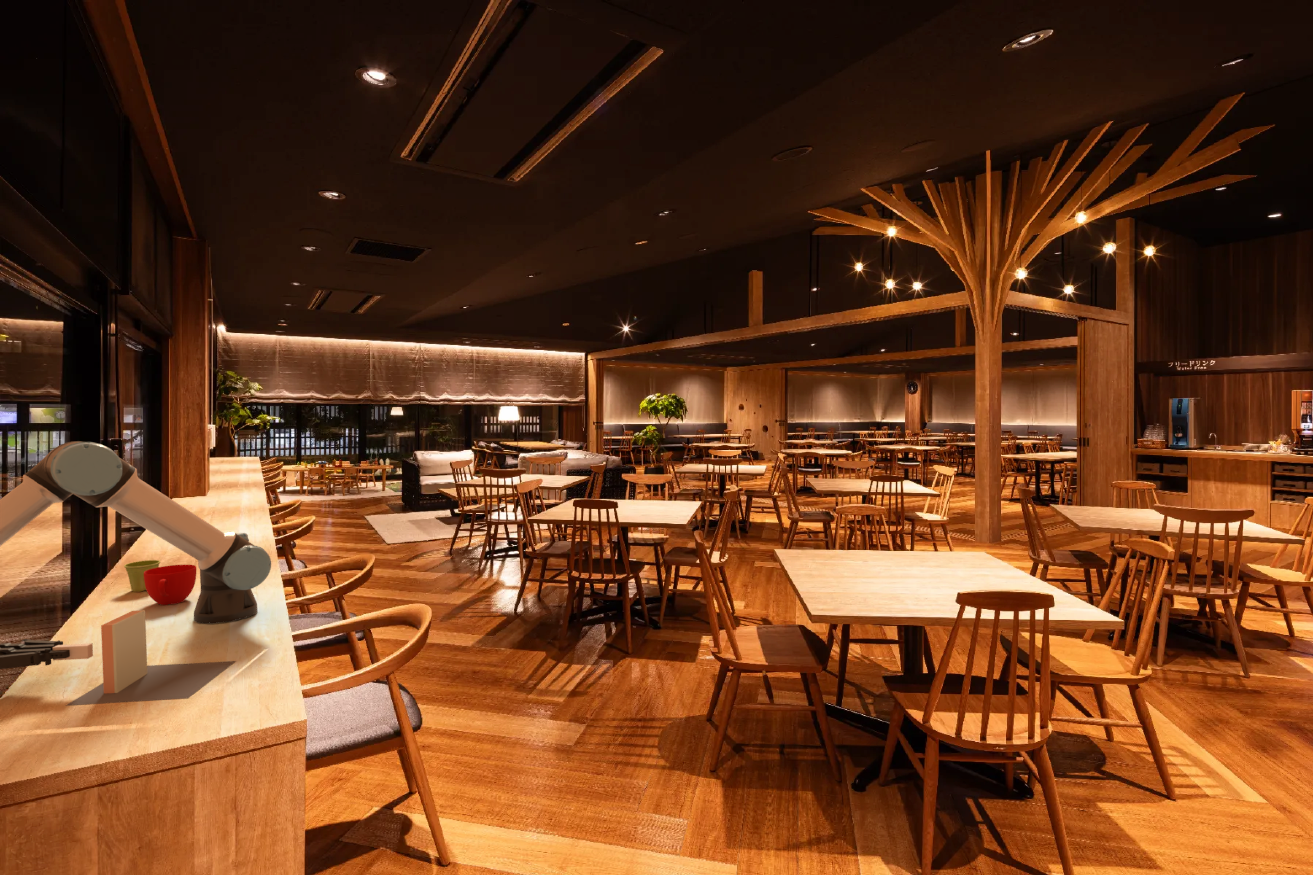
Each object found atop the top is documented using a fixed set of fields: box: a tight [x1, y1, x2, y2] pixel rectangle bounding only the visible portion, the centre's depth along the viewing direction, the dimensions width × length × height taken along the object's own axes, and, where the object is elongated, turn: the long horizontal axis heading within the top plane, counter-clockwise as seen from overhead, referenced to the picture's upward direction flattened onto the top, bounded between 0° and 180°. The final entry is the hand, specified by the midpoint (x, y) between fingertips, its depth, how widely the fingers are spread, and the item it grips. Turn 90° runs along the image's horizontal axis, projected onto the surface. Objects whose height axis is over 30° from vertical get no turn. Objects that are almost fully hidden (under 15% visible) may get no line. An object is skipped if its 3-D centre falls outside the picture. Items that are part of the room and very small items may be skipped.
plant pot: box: [123, 559, 161, 593], centre depth 217 cm, size 9×9×9 cm
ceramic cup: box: [144, 564, 197, 606], centre depth 201 cm, size 13×17×10 cm
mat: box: [65, 660, 237, 707], centre depth 142 cm, size 22×20×1 cm
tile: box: [100, 610, 148, 694], centre depth 141 cm, size 2×10×14 cm, turn 8°
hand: (90, 650), depth 139 cm, fingers closed
